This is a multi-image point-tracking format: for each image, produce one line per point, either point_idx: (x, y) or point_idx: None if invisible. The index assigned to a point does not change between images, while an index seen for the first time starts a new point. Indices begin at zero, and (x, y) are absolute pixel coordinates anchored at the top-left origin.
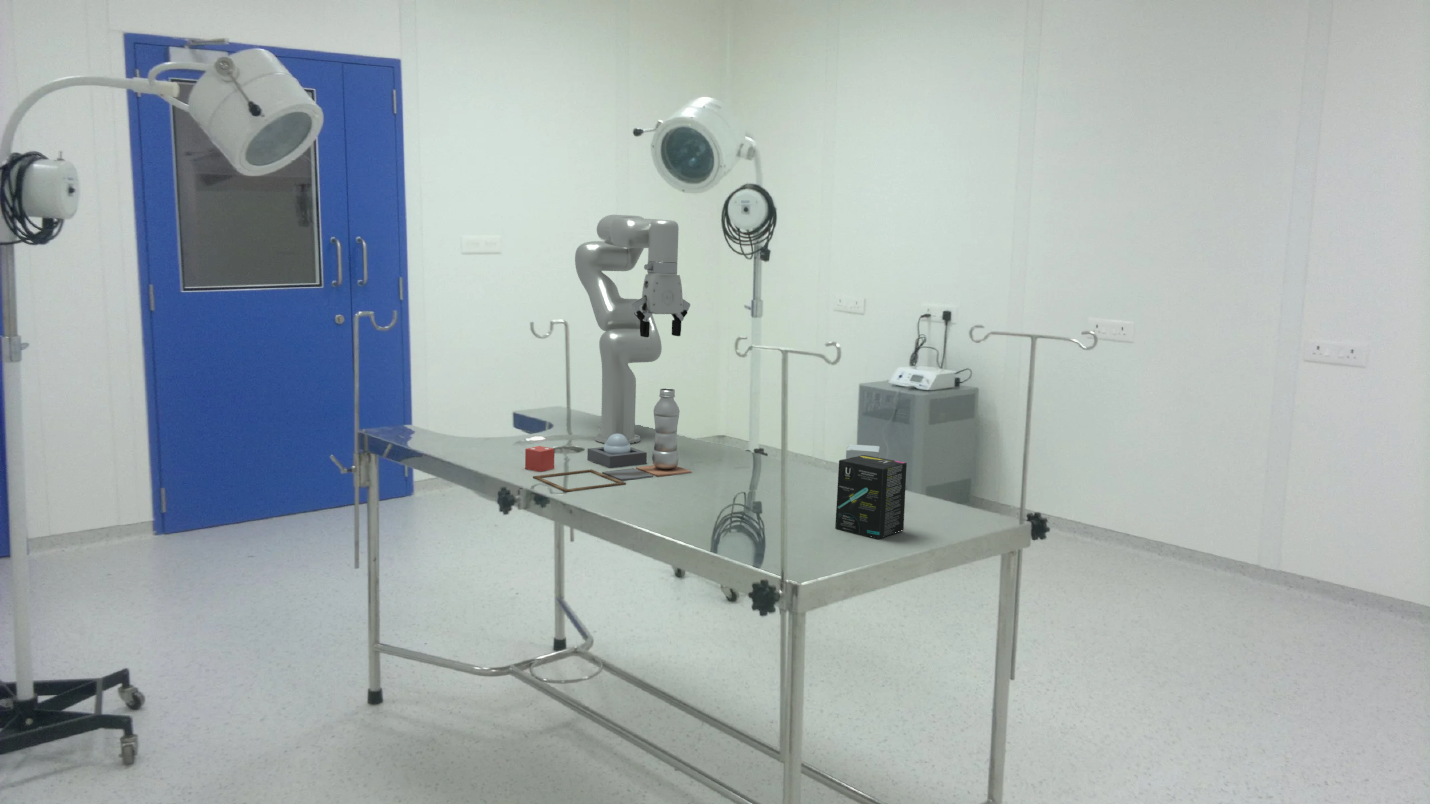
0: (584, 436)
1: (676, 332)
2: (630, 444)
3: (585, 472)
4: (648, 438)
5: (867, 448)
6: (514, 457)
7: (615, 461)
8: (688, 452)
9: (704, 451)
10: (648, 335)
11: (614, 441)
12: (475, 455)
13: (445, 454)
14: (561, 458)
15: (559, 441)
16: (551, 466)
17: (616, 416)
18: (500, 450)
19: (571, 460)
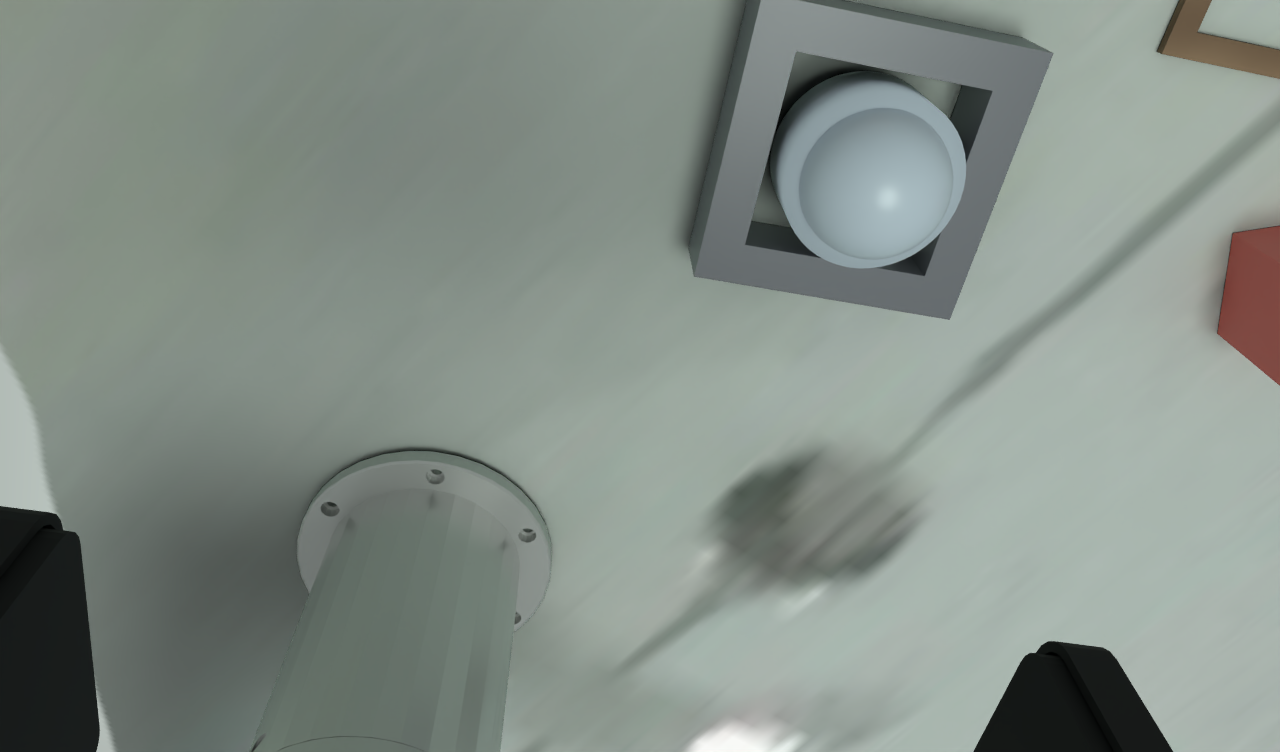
0: (508, 691)
1: (38, 649)
2: (807, 128)
3: (1221, 37)
4: (232, 507)
5: None
6: (1130, 530)
7: (996, 37)
8: (255, 78)
9: (127, 31)
10: (1083, 662)
11: (947, 159)
12: (1206, 641)
13: (1266, 709)
14: (993, 396)
15: (692, 669)
16: (1265, 235)
17: (476, 608)
18: None
19: (997, 331)
